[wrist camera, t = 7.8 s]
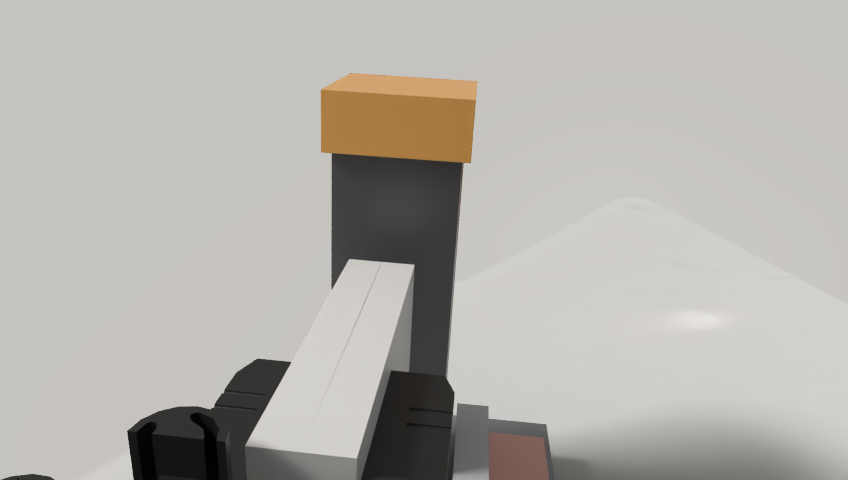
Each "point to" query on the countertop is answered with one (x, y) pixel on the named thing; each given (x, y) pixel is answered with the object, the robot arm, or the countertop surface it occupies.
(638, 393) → the countertop surface
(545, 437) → the grey base
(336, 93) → the breaker handle
